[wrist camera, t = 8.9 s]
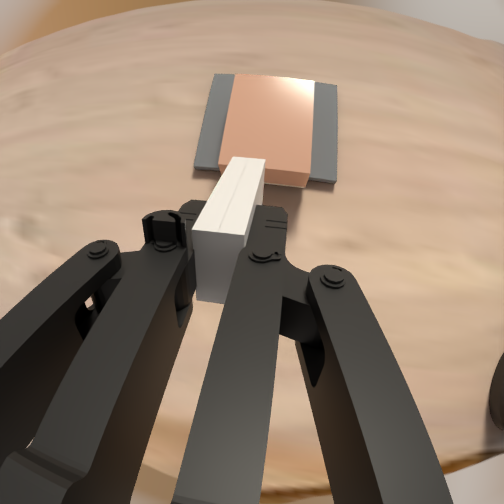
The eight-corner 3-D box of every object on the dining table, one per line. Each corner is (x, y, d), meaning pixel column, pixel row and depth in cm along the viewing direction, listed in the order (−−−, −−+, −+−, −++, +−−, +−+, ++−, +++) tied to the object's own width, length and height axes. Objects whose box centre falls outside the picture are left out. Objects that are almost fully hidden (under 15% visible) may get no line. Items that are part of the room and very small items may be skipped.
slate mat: (335, 183, 35) (336, 180, 34) (194, 169, 36) (193, 166, 35) (335, 88, 38) (336, 85, 37) (215, 77, 38) (214, 73, 37)
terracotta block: (310, 173, 30) (314, 81, 32) (217, 164, 31) (235, 73, 33) (305, 188, 34) (310, 100, 36) (222, 179, 35) (237, 93, 37)
